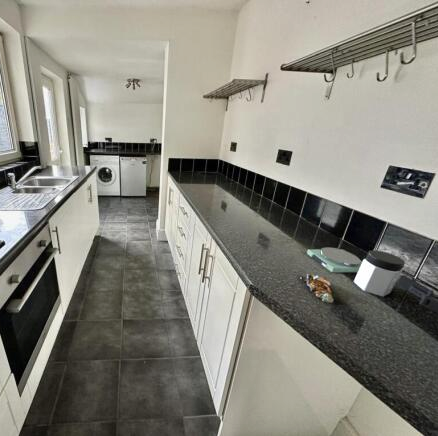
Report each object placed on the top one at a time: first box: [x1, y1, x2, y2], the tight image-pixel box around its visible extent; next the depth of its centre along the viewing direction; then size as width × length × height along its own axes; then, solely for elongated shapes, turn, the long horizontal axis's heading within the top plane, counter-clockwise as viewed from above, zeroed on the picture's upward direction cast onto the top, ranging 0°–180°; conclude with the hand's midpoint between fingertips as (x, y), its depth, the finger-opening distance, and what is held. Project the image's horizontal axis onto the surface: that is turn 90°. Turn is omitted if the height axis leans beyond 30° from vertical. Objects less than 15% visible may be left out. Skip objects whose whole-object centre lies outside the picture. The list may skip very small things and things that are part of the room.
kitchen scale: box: [306, 248, 363, 273], centre depth 88 cm, size 15×13×2 cm
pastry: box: [300, 273, 334, 304], centre depth 72 cm, size 7×12×4 cm, turn 174°
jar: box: [353, 250, 406, 297], centre depth 73 cm, size 9×8×12 cm
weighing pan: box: [319, 246, 361, 266], centre depth 87 cm, size 12×12×1 cm
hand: (423, 279), depth 61 cm, fingers open, 13 cm apart
